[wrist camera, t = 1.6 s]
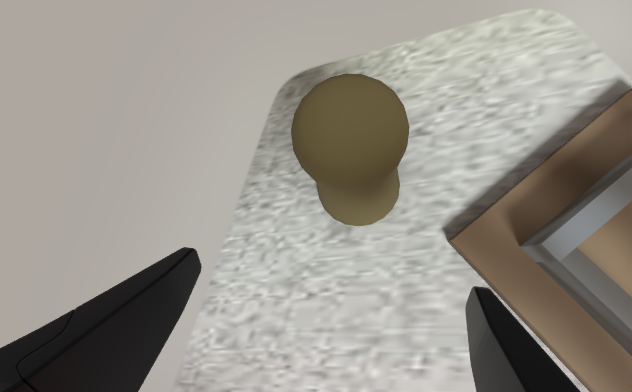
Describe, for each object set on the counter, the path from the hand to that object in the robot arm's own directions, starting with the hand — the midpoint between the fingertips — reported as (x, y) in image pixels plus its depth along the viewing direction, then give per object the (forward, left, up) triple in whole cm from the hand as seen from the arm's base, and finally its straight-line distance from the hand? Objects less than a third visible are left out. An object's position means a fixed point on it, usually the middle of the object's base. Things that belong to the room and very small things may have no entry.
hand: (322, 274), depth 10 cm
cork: (+4, +4, -12) cm, 14 cm away
